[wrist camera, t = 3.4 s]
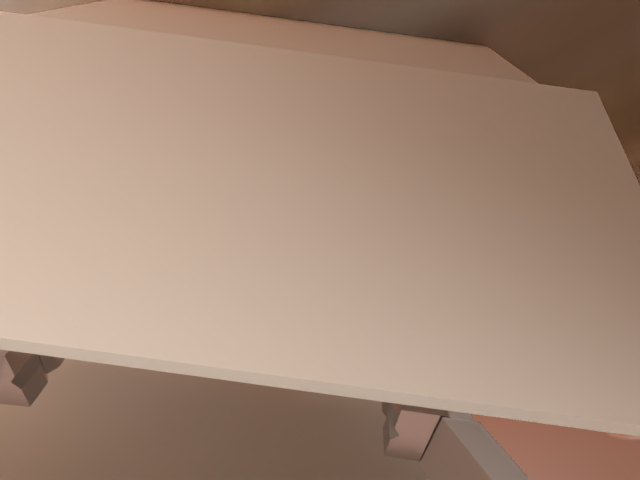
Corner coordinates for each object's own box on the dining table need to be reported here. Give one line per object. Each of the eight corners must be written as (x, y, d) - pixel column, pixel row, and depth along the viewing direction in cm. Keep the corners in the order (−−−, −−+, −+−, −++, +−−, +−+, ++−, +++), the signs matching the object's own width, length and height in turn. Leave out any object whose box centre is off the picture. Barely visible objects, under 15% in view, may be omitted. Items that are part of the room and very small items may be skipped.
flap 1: (583, 110, 9) (597, 91, 9) (720, 448, 5) (756, 441, 5) (-68, 22, 9) (-84, -1, 9) (-415, 292, 5) (-472, 273, 5)
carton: (499, 47, 18) (615, 124, 10) (432, 248, 24) (470, 397, 16) (109, -6, 18) (-98, 27, 10) (142, 209, 24) (33, 337, 16)
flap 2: (519, 607, 9) (514, 624, 9) (441, 407, 16) (439, 418, 16) (-141, 516, 9) (-138, 533, 9) (59, 354, 16) (59, 366, 16)
